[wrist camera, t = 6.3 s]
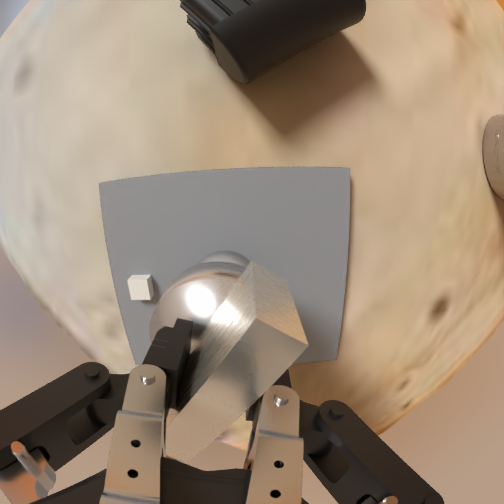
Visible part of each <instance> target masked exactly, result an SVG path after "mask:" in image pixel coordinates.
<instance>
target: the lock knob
mask: <svg viewBox="0 0 504 504" xmlns="http://www.w3.org/2000/svg"><path fill="white" fill-rule="evenodd" d="M177 318H181V319H186V320H191V321H193V329H192V339H191V350H190V355H189V359H188V363H187V367H186V370H185V374H184V378H183V382H182V386H181V390H180V393H179V397H178V401H177V405H176V408H175V409H171V408H170V409H169V413H168V416H167V427H166V458H170V459H175V460H177V461H179V462H182V463H184V464H185V463H186V462H188V461H189V460H190V459H192V458H193V457H194V456H195V455H196V454H198V453H199V452H200V451H201V450H202V449H204V448H205V447H206V446H207V445H208V444H210V443H211V442H212V441H213V440H214V439H215V438H217V437H218V436H219V435H220V434H221V433H222V432H223V431H225V430H226V429H227V428H228V427H229V426H230V425H231V424H232V423H233V422H234V421H236V420H237V419H238V418H239V417H240V416H241V415H242V414H243V413H244V412H245V411H246V410H247V409H248V408H249V407H250V406H251V405H253V404H254V403H255V402H256V401H257V400H258V399H259V398H260V397H261V396H262V395H263V394H264V393H265V392H266V391H267V390H268V389H269V388H270V387H271V386H272V385H273V384H274V383H275V381H276V380H277V379H278V378H279V377H280V376H281V375H282V374H283V373H284V372H285V371H286V370H287V369H288V368H289V367H290V366H291V365H292V363H293V362H294V361H295V360H296V359H297V358H298V357H299V356H300V355H301V354H302V352H303V351H304V350H305V349H306V348H307V347H308V346H309V345H308V342H307V339H306V336H305V333H304V330H303V327H302V324H301V321H300V318H299V315H298V312H297V310H296V307H295V304H294V301H293V298H292V295H291V292H290V289H289V286H288V284H287V281H286V280H284V279H282V278H281V277H279V276H277V275H276V274H274V273H272V272H271V271H269V270H268V269H266V268H264V267H263V266H261V265H259V264H258V263H256V262H254V261H253V260H251V262H250V263H249V265H248V266H247V267H244V266H242V265H239V264H235V263H231V262H223V261H212V262H205V263H201V264H197V265H194V266H192V267H190V268H188V269H186V270H184V271H183V272H181V273H180V274H179V275H178V276H176V277H175V278H174V279H173V281H172V282H171V283H170V284H169V286H168V287H167V289H166V291H165V292H164V294H163V296H162V297H161V299H160V301H159V302H158V304H157V306H156V307H155V309H154V311H153V314H152V316H151V320H150V326H149V336H150V341H151V343H152V341H153V339H154V337H155V335H156V333H157V331H158V330H160V329H161V328H163V327H164V326H167V327H172V328H173V327H174V325H175V322H176V320H177Z"/></svg>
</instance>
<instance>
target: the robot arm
mask: <svg viewBox="0 0 504 504" xmlns="http://www.w3.org/2000/svg"><path fill="white" fill-rule="evenodd" d="M483 156H484V164H485V170H486V173H487V177H488V180H489V182H490V185H491V187H492V189H493V190H494V192H495V193H496V194H497V195H498V196H499V197H500V198H501V199H503V200H504V115H496V116H494V117H492V118H491V119H490V120H489V122H488V124H487V126H486V129H485V132H484V139H483ZM192 329H193V321H191V320H186V319H181V318H177V320H176V322H175V325H174V327H173V328H172V327H167V326H164V327H163V328H161V329H160V330H158V331H157V333H156V335H155V337H154V339H153V341H152V343H151V346H150V348H149V350H148V352H147V354H146V356H145V358H144V360H143V363H142V365H139V366H137V367H135V368H133V369H132V371H131V372H130V374H109V371H108V369H107V368H106V367H105V366H104V365H102V364H100V363H97V362H87V363H84V364H81V365H80V366H78V367H76V368H74V369H73V370H71V371H69V372H67V373H66V374H64V375H63V376H60V377H59V378H57V379H56V380H53V381H52V382H50V383H48V384H46V385H45V386H43V387H41V388H39V389H38V390H36V391H34V392H32V393H30V394H29V395H27V396H25V397H23V398H22V399H20V400H18V401H17V402H15V403H13V404H11V405H9V406H7V407H6V408H4V409H2V410H0V488H1V490H2V491H3V493H4V494H5V496H6V497H7V498H8V500H9V501H10V502H11V504H308V503H307V502H306V501H305V500H304V499H303V498H302V497H301V496H302V477H303V476H302V475H303V460H304V461H305V462H306V464H307V465H308V466H309V468H310V469H311V470H312V471H313V472H314V474H315V475H316V476H317V478H318V479H319V480H320V481H321V483H322V484H323V485H324V487H325V488H326V489H327V490H328V491H329V493H330V494H331V495H332V496H333V497H334V498H335V500H336V501H337V502H338V503H339V504H444V501H443V498H442V497H441V495H440V494H439V493H437V492H436V491H435V490H434V489H433V488H432V487H431V486H430V485H429V484H427V482H426V481H424V480H423V479H422V478H421V477H420V476H419V475H418V474H417V473H416V472H415V471H414V470H413V469H412V468H411V467H409V466H408V465H407V464H406V463H405V462H404V461H403V460H402V459H401V458H400V457H399V456H398V455H397V454H396V453H395V452H394V451H393V450H392V449H391V448H390V447H389V446H387V444H386V443H385V442H383V441H382V440H381V439H380V438H379V437H378V436H377V435H376V434H375V433H374V432H373V431H372V430H371V429H370V428H369V427H368V426H367V425H366V424H365V423H364V422H363V421H362V420H361V419H360V418H359V417H358V416H357V415H356V414H355V413H354V412H353V411H352V409H351V408H350V407H348V406H347V405H346V404H344V403H342V402H340V401H336V400H329V401H326V402H324V403H322V404H321V406H320V407H319V406H315V405H311V404H308V403H305V402H303V401H301V400H300V399H299V396H298V394H297V393H296V392H295V391H294V390H293V389H292V388H291V382H290V377H289V372H288V369H287V370H286V371H285V372H284V373H283V374H282V375H281V376H280V377H279V378H278V379H277V380H276V381H275V383H274V384H273V385H272V386H271V387H270V388H269V389H268V390H267V391H266V392H265V393H264V394H263V395H262V396H261V397H260V398H259V399H258V400H257V401H256V402H255V403H254V404H253V405H251V406H250V407H249V408H248V409H247V410H246V420H247V421H253V428H252V430H251V433H250V438H249V443H248V448H247V453H246V458H245V462H244V468H243V469H228V470H217V471H203V470H200V469H197V468H195V467H192V466H189V465H187V464H184V463H182V462H179V461H177V460H175V459H170V458H166V427H167V416H168V413H169V409H170V408H171V409H175V408H176V405H177V401H178V397H179V393H180V390H181V386H182V382H183V378H184V374H185V370H186V367H187V363H188V359H189V355H190V350H191V339H192ZM113 427H114V430H113V435H112V440H111V446H110V452H109V458H108V464H107V468H106V469H104V470H103V471H101V472H99V473H97V474H95V475H93V476H91V477H89V478H87V479H85V480H83V481H81V482H79V483H76V484H74V485H73V486H70V487H68V488H66V489H63V490H61V491H59V492H56V493H54V494H52V495H49V496H47V494H48V492H49V490H50V489H52V488H53V486H54V484H55V481H56V474H55V471H57V470H58V469H59V468H61V467H62V466H63V465H65V464H66V463H68V462H69V461H70V460H72V459H73V458H74V457H76V456H77V455H78V454H80V453H81V452H82V451H84V450H85V449H86V448H88V447H89V446H90V445H92V444H93V443H94V442H95V441H97V440H98V439H99V438H101V437H102V436H103V435H104V434H105V433H107V432H108V431H109V430H111V429H112V428H113Z"/></svg>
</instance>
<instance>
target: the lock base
mask: <svg viewBox="0 0 504 504" xmlns="http://www.w3.org/2000/svg"><path fill="white" fill-rule="evenodd" d="M99 191H100V201H101V210H102V218H103V226H104V233H105V239H106V246H107V252H108V257H109V263H110V268H111V273H112V278H113V283H114V287H115V292H116V296H117V300H118V304H119V308H120V312H121V316H122V320H123V324H124V328H125V331H126V335H127V338H128V341H129V345H130V348H131V351H132V355H133V358H134V361H135V364H136V365H142V363H143V360H144V358H145V356H146V354H147V352H148V350H149V348H150V346H151V341H150V336H149V326H150V320H151V316H152V314H153V311H154V309H155V307H156V306H157V304H158V302H159V301H160V299H161V297H162V296H163V294H164V292H165V291H166V289H167V287H168V286H169V284H170V283H171V282H172V281H173V279H174V278H175V277H176V276H178V275H179V274H180V273H181V272H183V271H184V270H186V269H188V268H190V267H192V266H194V265H197V264H201V263H205V262H212V261H223V262H231V263H235V264H239V265H242V266H244V267H247V266H248V265H249V263H250V262H251V260H253V261H254V262H256V263H258V264H259V265H261V266H263V267H264V268H266V269H268V270H269V271H271V272H272V273H274V274H276V275H277V276H279V277H281V278H282V279H284V280H286V281H287V284H288V286H289V289H290V292H291V295H292V298H293V301H294V304H295V307H296V310H297V312H298V315H299V318H300V321H301V324H302V327H303V330H304V333H305V336H306V339H307V342H308V345H309V346H308V347H307V348H306V349H305V350H304V351H303V352H302V354H301V355H300V356H299V357H298V358H297V359H296V360H295V361H294V362H293V363H292V364H301V363H311V362H320V361H329V360H336V358H337V352H338V345H339V338H340V331H341V323H342V315H343V306H344V296H345V286H346V274H347V261H348V245H349V223H350V168H342V167H259V168H235V169H218V170H203V171H191V172H180V173H170V174H160V175H151V176H143V177H135V178H128V179H121V180H114V181H108V182H101V183H99Z"/></svg>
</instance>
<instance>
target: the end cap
mask: <svg viewBox="0 0 504 504" xmlns="http://www.w3.org/2000/svg"><path fill="white" fill-rule="evenodd" d="M180 1H181V4H180V7H181V8H182V9H183V10H184V11H186V12H187V13H188V15H187V18H188V19H187V23H188V24H189V25H190V26H191V27H192V28H193V29H195V30H196V31H195V32H196V34H197V36H198V37H199V38H200V39H201V40H202V41H203V42H204V43H205V44H206V45H207V46H208V47H209V48H210V49H211V50H212V51H213V53H214V54H215V55H216V56H217V60H218V64H219V65H220V66H221V67H222V68H223V70H225V71H226V72H227V73H228V74H229V75H230V76H231V77H232V78H233V79H235V80H236V81H238V82H239V83H242V84H247V83H250V82H251V81H253V80H254V79H256V78H257V77H259V76H260V75H262V74H263V73H265V72H267V71H268V70H270V69H271V68H273V67H275V66H276V65H278V64H280V63H281V62H283V61H285V60H286V59H288V58H290V57H291V56H293V55H295V54H297V53H298V52H300V51H302V50H304V49H306V48H308V47H309V46H311V45H313V44H315V43H317V42H319V41H321V40H323V39H325V38H327V37H329V36H331V35H333V34H335V33H337V32H339V31H341V30H343V29H346V28H348V27H350V26H352V25H354V24H357V23H358V22H360V21H361V20H362V19H363V17H364V15H365V12H366V1H365V0H180Z"/></svg>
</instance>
